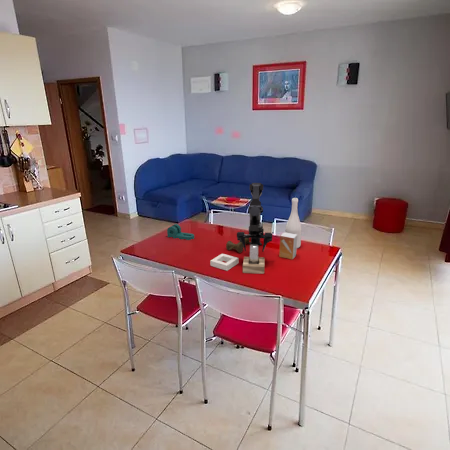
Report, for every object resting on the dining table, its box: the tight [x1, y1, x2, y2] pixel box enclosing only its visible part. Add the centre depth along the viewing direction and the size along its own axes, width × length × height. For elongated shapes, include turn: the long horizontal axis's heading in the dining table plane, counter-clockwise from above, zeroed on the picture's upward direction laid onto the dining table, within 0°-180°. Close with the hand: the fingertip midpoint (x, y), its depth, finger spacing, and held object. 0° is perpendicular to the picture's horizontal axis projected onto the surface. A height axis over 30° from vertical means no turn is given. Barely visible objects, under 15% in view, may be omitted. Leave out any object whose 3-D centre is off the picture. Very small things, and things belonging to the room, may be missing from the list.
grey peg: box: [249, 244, 259, 264], centre depth 165 cm, size 4×4×13 cm
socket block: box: [242, 256, 265, 275], centre depth 166 cm, size 11×11×4 cm
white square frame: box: [209, 253, 240, 272], centre depth 172 cm, size 11×11×3 cm
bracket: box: [166, 223, 195, 241], centre depth 210 cm, size 18×7×8 cm, turn 68°
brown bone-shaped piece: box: [225, 238, 251, 254], centre depth 191 cm, size 6×10×20 cm
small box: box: [278, 231, 298, 260], centre depth 178 cm, size 8×6×13 cm
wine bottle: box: [284, 197, 302, 249], centre depth 189 cm, size 10×10×30 cm
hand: (254, 251), depth 165 cm, fingers open, 9 cm apart
